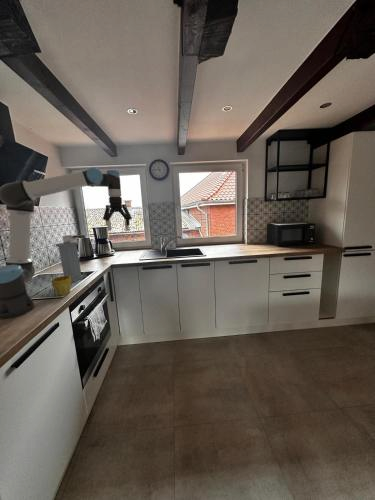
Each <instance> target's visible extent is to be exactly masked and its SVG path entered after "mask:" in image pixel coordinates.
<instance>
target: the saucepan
mask: <svg viewBox="0 0 375 500" xmlns="http://www.w3.org/2000/svg"><path fill="white" fill-rule="evenodd" d="M77 238H80V239H81V238H82V239H83V238H86V235H85V234H79V235H78V234H69V235H63V236H62V243H63V242H64V244H70V243H76V242H78V239H77Z"/></svg>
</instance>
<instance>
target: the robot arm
mask: <svg viewBox="0 0 375 500" xmlns="http://www.w3.org/2000/svg"><path fill="white" fill-rule="evenodd" d="M82 187H83V188H84V187H91V188H93V187H97V188H98V187H102V188H103V187H105V188H106V187H107V191H108V203H109V204H106V205H105V210H104V213H103V216H102V220H103V221H105V225H106V226H107V231H108V232H110V231H111V232H112V222H111V218H112V216H113V215H114V213H117V212H118V213H119V214H120V215H121V216H122V217H123V218H124V229H125V230H124V231H125V232H128V231H130V221H131V220H132V218H133V217H132V215H131V213H130V212H129V209H128V207H127V206H128V205H127V204H126V203H125V204H123V199H122V189H121V187H122V186H121V178H120V172H119V171H118V170H115V169H108V170H106V172H105V173H103V172H102V171H101V170H100V169H99V168H97V167H89V168H88V169H86V170H81V171H76V172H71V173H65V174H62V175H56V176H52V177H47V178H42V179H41V178H40V179H37V180H30V181H27V180H20V181H14V182H7V183H5V184H3V185H1V186H0V201H1V202H2V203H3V204H4V205H5V211H7V213H9V258H7V259H6V260H5V265H2V266H0V320H1V319H3V320H5V319H11V318H15V317H18V316H21V315H24V314H26V313H29V312H30V311H32V310H33V309H34V308H35V302H34V301H33V300H32V299H33V298H31V296H30V295H29V294H28V292H27V286H26V283H28V282H29V281H31V279H32V278H33V277H34V275H35V273H36V269H35V266H34V260H33V259H32V258H31V257H30V254H31V253H30V252H31V251H30V250H31V248H30V247H31V215H33V214H34V213H35V206H36V204H37V200H38V198H41V197H45V196H49V195H55V194H59V193H62V192H67V191H70V190H75V189H80V188H82Z"/></svg>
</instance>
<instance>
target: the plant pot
mask: <svg viewBox="0 0 375 500" xmlns="http://www.w3.org/2000/svg"><path fill="white" fill-rule="evenodd" d="M50 281H51V285H52V287H53V288H54V290H55V292H56V294H57V295H58V296H66V295H68V294H70V293H71V283H73V282H72V280H71V276H64V275H61V276H57V277H55V278H52V279H51V280H50ZM65 294H66V295H65Z"/></svg>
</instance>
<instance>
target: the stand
mask: <svg viewBox="0 0 375 500" xmlns="http://www.w3.org/2000/svg"><path fill="white" fill-rule="evenodd" d="M77 245H79V241H77V242H76V243H70V244H64V242H63V241H62V242H58V243H55V247H56V248H58V250H59V251H58V252H59V257H60V262H61V263H60V264H61V267H62V272H63V276H71V280H72V282H71V283H75V282H77V281H79V280H83V279H85V277H84V275H83V274H82V269H81V263H80V258H79V251H78V246H77Z"/></svg>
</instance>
